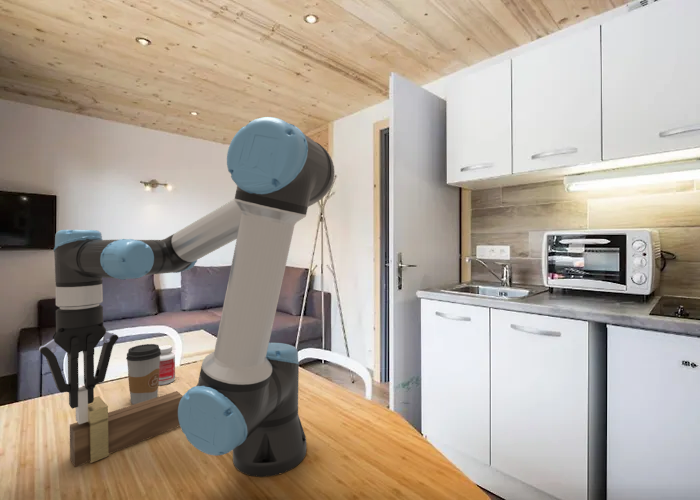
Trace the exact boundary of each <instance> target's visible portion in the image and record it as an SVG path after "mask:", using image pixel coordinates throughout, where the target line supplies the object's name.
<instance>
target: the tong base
mask: <svg viewBox="0 0 700 500" xmlns="http://www.w3.org/2000/svg"><path fill="white" fill-rule="evenodd" d="M178 394H181V393H180V392H179V391H177V390H176V391H173V392H170V393H166V394H163V395H159V396H157V397H156V398H153V399H150V400H147V401H144V402H140V403H137V404H134V405H133V404H132V405H128V406H125V407H122V408H119V409H118V408H117V409H116V410H115V409H114V410H113V411H108V417H110V416H113V415H116V414H119V413H122V412H125V411H129V410H132V409H135V408H138V407H141V406H144V405H147V404H150V403H153V402H156V401H159V400H162V399H166V398H169V397H172V396H175V395H178ZM69 458H70V461H71V463H72V464H73V466H74V468H77V467H79V466H82V465H84V464H87V463H89V462H90V425H89V424H88V422H85V423H82V424H78V422H77V421H76V422H74V423H70V424H69ZM90 463H91V462H90Z"/></svg>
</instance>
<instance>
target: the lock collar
mask: <svg viewBox="0 0 700 500" xmlns="http://www.w3.org/2000/svg"><path fill="white" fill-rule="evenodd" d="M108 412H109V404H107V403H106V402H105V401H104V400H103V399H102V398H101V397H100V396H94V401H93V403H89V404H88V424H89V425H90V464H92V463H94V462H97V461H99V460H102V459H105V458H107V457H109V455H110V454H109V452H108Z"/></svg>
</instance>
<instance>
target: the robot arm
mask: <svg viewBox="0 0 700 500" xmlns="http://www.w3.org/2000/svg"><path fill="white" fill-rule="evenodd" d="M228 146H229V147H228V149H227V153H226V165H227V170H228V173H229V174H230V175H231V176H230V177H231V179H232V181H233V182H234V184H235V185H236V191H235V194H234V195H235V196H234V198H233V199H232V200H230V201H228V202H227V203H225V204H223V205H221V206H220V207H217V208H215V210H213V211H211V212H209V213H207V214H206V215H204V216H202V217H200V218H198V219H197V220H195V221H193V222H192V223H190V224H189V225H187V226H185V227H184V228H182V229H179V230H178V231H176V232H175V233H173V234H171V235H169V236H167V237H166V238H163V239H133V238H129V239H127V238H119V239H103V236H102V232H100V231H99V230H95V229H60V230H58V231H57V232H56V233H55V235H54V236H55V237H54V248H53V254H54V257H53V258H54V279H55V281H54V282H55V306H56V307H58V308H57V309H56V310H55V332H54V334H53V336H52V339H51V340H50V341H48V342H47V343H46V344H41V345H40V346H38V348H37V350H38V352H39V353H40V354H42V356H44V357H45V359H46V362H47V365H48V367H49V370H50V373H51V376H52V378H53V381H54V384H55V387H56V389H57V390H58V391H59V392H60V393H62V394H63V393H68V405H69V407H70V408H71V409H72V410H73V409H75V421H76V423H77V422H78V424H82V423H85V422H88V404H89V403H93V401H94V397H95V393H94V390H95V388H96V386H97V385H98V384H100V383H103V382H105V379H106V374H107V371H108V367H109V363H110V359H111V357H112V351H113V348H114V345H116V343H117V341H118V340H119V336H118V335H117V334H116V333H114V332H109V331H107V328H106V327H105V325H104V306H102V303H103V302H104V300H103V299H104V298H103V297H104V295H103V292H104V291H103V279H107V278H108V279H117V280H123V281H124V280H135V279H140V278H143V277H144V276H152V275H161V274H162V275H163V274H172V273H173V274H176V273H177V274H179V273H182V272H185V271H189V270H191V269H192V268H194V267H195V265H196V263H197V262H198V260H201V258H204V257H206V256H207V255H209V254H211V253H213V252H215V251H216V250H218V249H220V248H222V247H225V246H226V245H228V244H230V243H232V242H233V241H235V240H236V242H235V244H234V245H235V247H234V250H233V251H234V252H233V256H232V259H231V261H232V262H231V267H230V271H229V275H228V276H229V277H228V280H227V281H228V282H227V288H226V291H225V296H224V301H223V305H222V311H221V315H220V320H219V326H218V332H217V335H216V342H215V345H214V351H213V352H211V353H209V354H207V356H205V357H204V358H203V360H202V362H201V367H200V372H199V377H198V382H197V384H196V385H195V386H192V387H191V388H189V389H188V390H187V391H186V392H185V393H184V394H182V395H183V397H182V398H181V400H180V402H179V406H178V420H179V424H180V426H179V427H180V429H181V431H182V433H183V434H184V435H185V438H186V440H187V441H188V442H189V443H190V444H191V445H192V446H193V447H194V448H195V449H197V450H199V451H200V452H202V453H203V454H206V455H208V456H209V455H210V456H223V455H226V454H229V453H230V452H232V462H233V465H234V467H235V468H236V469H237V470H238V471H239V472H241V473H243V474H244V475H246V476H247V475H248V476H252V477H257V478H258V477H259V478H260V477H262V478H264V477H272V476H273V477H274V476H277V475H281V474H284V473H287V472H288V471H291V470H293V469H294V468H296V467H297V466H298V465H299V464H300V463H301V462H302V461H303V460H304V458H305V457H306V455H307V436H306V433H305V430H304V428H303V424H302V421H301V419H300V415H299V380H300V379H299V376H300V375H299V373H300V372H299V370H300V369H299V366H300V361H299V351H298V349H297V348H296V347H295V346H293V345H292V344H288V343H282V342H270V341H271V335H272V330H273V328H274V327H273V326H274V323H275V317H276V312H277V308H278V303H279V298H280V295H281V294H280V293H281V289H282V283H283V281H284V275H285V271H286V267H287V262H288V261H287V260H288V258H289V257H288V256H289V251H290V247H291V242H292V240H293V239H292V238H293V234H294V229H295V225H296V224H297V223H298V222H299V221H302V220H303V219H304V218H306V216H307V212H308V209H309V207H311V206H312V205H315V204H316V203H317V202H319V201H321V200H323V198H324V197H325V196H326V195H327V194H328V193H329V191H330V190H331V188H332V187H333V183H334V179H335V165H334V162H333V159H332V157H331V156H330V153H329V152H328V150H326V148H325V147H323V146H322V145H321V144H320V143H319V142H317V141H314V140H313V138H310V137H309V136H308V135H306V134H305V133H304V132H302V130H301V129H300V128H299V127H297V126H296V125H295V124H291V123H288V122H287V121H285V120H283V119H281V118H278V117H274V116H264V117H260V118H259V117H258V118H255V119H253V120H251V121H250V122H249V123H247V124H246V125H245V126H242V127H241V128H240V129H238V131H237V132H236V133H235V135H234V137H232V139H231V141H230V143H229V145H228ZM101 340H102V342H103V344H102V347H101V350H100V354H99V359H98V363H97V366H96V369H95V357H94V356H95V348H96V347H97V345H98V344H99V343H100V341H101ZM57 346H58V347H60V348H61V349H62V350H64V351H65V353H66V355H67V383H66V380H65V379H64V375H63V372H62V370H61V367H60V365H59V361H58V358H57V356H56V354H55V353H56V351H57ZM81 352H82V354H83V385H84V386H81V387H79V385H80V383H79V357H80V353H81Z"/></svg>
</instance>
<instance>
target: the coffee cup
mask: <svg viewBox="0 0 700 500" xmlns="http://www.w3.org/2000/svg"><path fill="white" fill-rule="evenodd" d="M159 346H160V345H159V344H155V343H146V344H140V345H139V344H138V345H135V346H132V347H130V348H128V350H127V351H128V352H127V353H126V359H125V360H126V362H127V372H128V374H127V375H128V376H127V378H128V388H129V390H128V391H129V399H130V403H131V404H132V405H134V404H137V403H140V402H144V401H147V400H150V399H153V398H156V397H159V396H158V393H159V386H160V385H159V370H160V369H159V365H160V355H161V352H160V351H161V350H160V348H159Z"/></svg>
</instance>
